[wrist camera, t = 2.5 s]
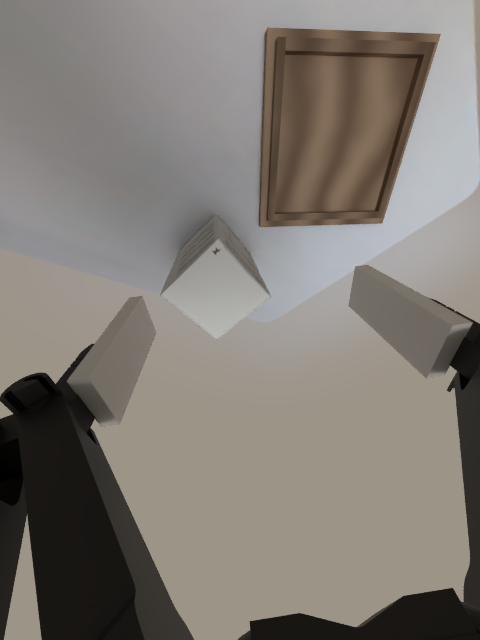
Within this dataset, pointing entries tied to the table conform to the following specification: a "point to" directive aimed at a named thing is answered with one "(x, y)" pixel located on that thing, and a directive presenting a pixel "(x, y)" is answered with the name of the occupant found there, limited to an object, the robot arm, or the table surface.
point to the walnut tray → (337, 122)
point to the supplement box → (215, 280)
